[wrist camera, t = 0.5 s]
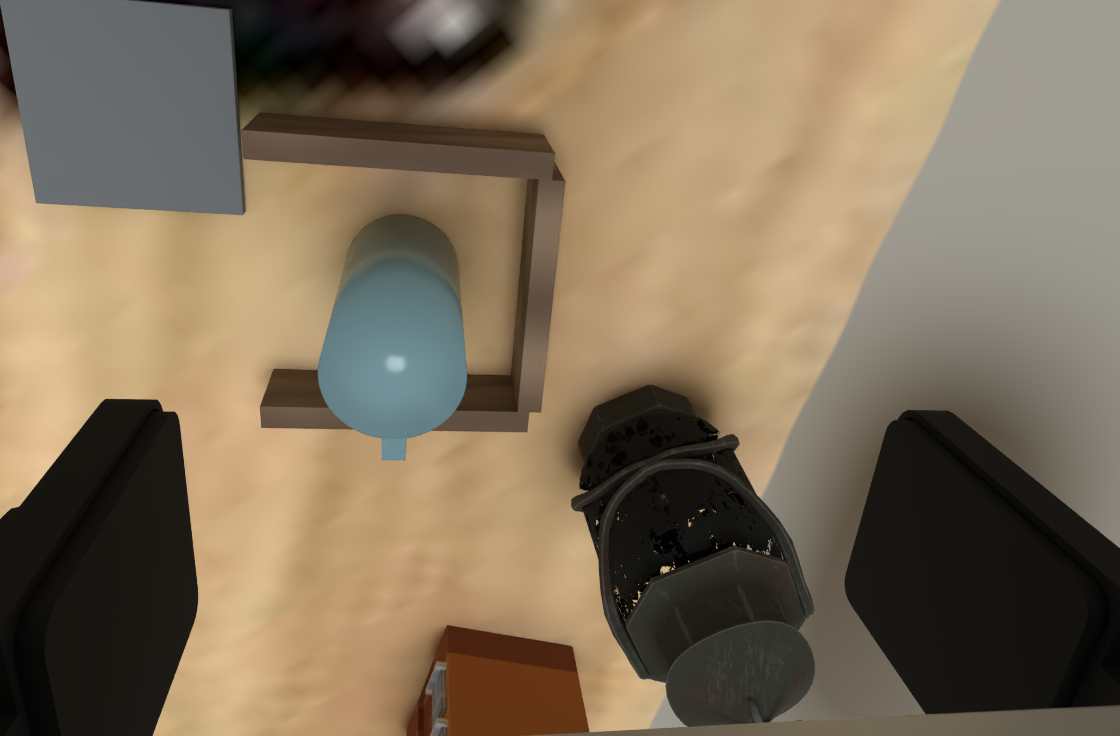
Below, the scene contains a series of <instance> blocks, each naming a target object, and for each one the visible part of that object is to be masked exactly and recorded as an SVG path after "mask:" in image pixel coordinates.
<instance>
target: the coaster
mask: <svg viewBox="0 0 1120 736" xmlns="http://www.w3.org/2000/svg"><path fill="white" fill-rule="evenodd" d="M0 5H1V10H2V16H3V21H4V27H5V33H6V38H7V44H8V49H9V55H10V60H11V66H12V71H13V77H14V83H15V88H16V94H17V99H18V105H19V110H20V116H21V121H22V127H23V133H24V138H25V144H26V149H27V155H28V160H29V166H30V171H31V177H32V183H33V188H34V194H35V199H36V203H43V204H60V205H78V206H95V207H112V208H129V209H146V210H164V211H181V212H198V213H215V214H233V215H243V214H244V213H245V197H244V182H243V167H242V152H241V137H240V122H239V107H238V92H237V77H236V62H235V47H234V32H233V17H232V9H225V8H214V7H204V6H194V5H184V4H174V3H163V2H153V1H143V0H0Z"/></svg>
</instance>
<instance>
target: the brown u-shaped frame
mask: <svg viewBox="0 0 1120 736" xmlns="http://www.w3.org/2000/svg"><path fill="white" fill-rule="evenodd" d="M242 140H243V156H244V159H250V160H265V161H279V162H294V163H308V164H323V165H337V166H352V167H366V168H381V169H395V170H410V171H424V172H439V173H453V174H468V175H483V176H497V177H512V178H526V179H528V183H527V195H526V207H525V218H524V230H523V241H522V253H521V265H520V276H519V288H518V300H517V311H516V323H515V334H514V346H513V358H512V369H511V376H493V375H467V382H466V388H465V392H464V395H463V397H462V400H461V402H460V404H459V405H458V407H457V408H456V410H455V411H454V412H453V414H452V415H451V416H450V417H449V418H448V419H447V420H446V421H445V422H444V423H442V424H441V425H439V426H438V427H436V428H435V429H433V430H431V431H481V432H527V429H528V419H529V412H541V405H542V396H543V387H544V377H545V368H546V358H547V349H548V340H549V330H550V321H551V311H552V302H553V293H554V283H555V274H556V264H557V255H558V246H559V236H560V227H561V217H562V208H563V198H564V189H565V180H564V178H563V176H562V174H561V173H560V171H559V169H558V167H557V166H556V164H555V162H554V157H555V153H554V151H553V149H552V148H551V146H550V144H549V143H548V141H547V139H546V138H545V136H544V135H538V134H525V133H512V132H499V131H486V130H474V129H461V128H448V127H435V126H422V125H410V124H397V123H384V122H371V121H358V120H346V119H333V118H320V117H307V116H294V115H282V114H269V113H259V114H258V115H257V116H256V117H255V118H254V119H253V120H252V121H251V122H250V123H249V124H248V125H246V126H245V127H244V128H243V129H242ZM260 415H261V428H303V429H353V428H351V427H349V426H348V425H346V424H345V423H344V422H342V421H341V420H340V419H339V418H338V417H337V416H336V415H335V414H334V413H333V412H332V411H331V409H330V408H329V407H328V405H327V403H326V402H325V400H324V398H323V396H322V393H321V390H320V386H319V381H318V371H317V370H281V369H274V370H273V373H272V375H271V378H270V381H269V383H268V386H267V389H266V392H265V394H264V397H263V400H262V402H261V405H260Z"/></svg>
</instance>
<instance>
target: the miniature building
mask: <svg viewBox="0 0 1120 736" xmlns="http://www.w3.org/2000/svg"><path fill="white" fill-rule="evenodd" d="M587 732H589V728H588V723H587V718H586V713H585V708H584V703H583V698H582V693H581V688H580V683H579V678H578V673H577V668H576V663H575V658H574V653H573V648H572V647H567V646H561V645H555V644H550V643H544V642H539V641H533V640H527V639H522V638H516V637H510V636H505V635H499V634H494V633H488V632H482V631H477V630H471V629H466V628H460V627H454V626H449V625H447V627H446V630H445V632H444V635H443V637H442V640H441V643H440V645H439V648H438V650H437V653H436V656H435V658H434V661H433V663H432V666H431V669H430V671H429V674H428V677H427V679H426V682H425V684H424V687H423V690H422V692H421V695H420V697H419V700H418V703H417V705H416V708H415V710H414V713H413V716H412V718H411V721H410V724H409V726H408V729H407V736H531V735H549V734H568V733H587Z"/></svg>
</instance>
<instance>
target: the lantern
mask: <svg viewBox="0 0 1120 736" xmlns="http://www.w3.org/2000/svg"><path fill="white" fill-rule="evenodd" d="M704 427H707V428H704ZM718 432H719V431H718V430H717V429H716V428H715V427H713V426H712V425H711V424H709V423H708V422H707V421H705V420H703V419H701V418H698V417H696V415H695V412H694V410H693V407H692V406H691V404H690V402H689V400H688V399H687V398H686V397H683V396H680V395H677V394H674V393H672V392H669V391H666V390H663V389H661V388H658V387H655V386H652V385H648V386H646V387H643V388H641V389H638V390H636V391H634V392H631V393H629V394H626V395H624V396H621V397H619V398H616V399H614V400H612V401H609V402H607V403H604V404H602V405H599V406H597V407H595V408H594V410H593V412H592V414H591V416H590V418H589V420H588V422H587V425H586V427H585V429H584V431H583V433H582V435H581V437H580V439H579V441H578V445H579V448H580V452H581V454H582V457H583V459H584V461H585V465H584V466H583V468H582V471H581V477H580V483H579V487H580V489H581V488H582V489H583V490H586V491H587V490H588V492H585V493H583V494H580V495H578V496H576V497H574V498H572V499H571V506H572V508H573V510H574V511H580V512H584V515H585V518H586V521H587V525H588V528H589V531H590V534H591V537H592V540H593V542H594V547H595V550H596V553H597V556H598V559H599V577H600V590H601V597H602V603H603V609H604V615H605V617H606V619H607V622H608V624H609V627H610V629H611V631H612V634H613V636H614V637H615V639H616V640H617V642H618V644H619V645H620V647H621V648H622V650H623V651H624V653H625V655H626V656H627V658H628V660H629V662H630V664H631V665H632V667H633V668H634V670H635V671H636V673H637V674H638V676H639V677H640V678H641V679H652V680H655V681H660V682H664V683H666V693H667V698H668V701H669V703H670V706H671V708H672V710H673V711H674V713H675V715H676V716H677V717H678V718H679V719H680V721H681V722H683V724H685V725H686V726H688V727H695V726H713V725H731V724H749V723H768V722H771V720H772V719H774V718H775V717H777V716H778V715H780V714H782V713H784V712H786V711H787V710H789V709H790V708H792V707H793V706H794V705H796V704H797V703H798V702H799V701H800V700H801V699H802V698H803V697H804V696H805V695H806V694H807V692H808V691H809V689H810V687H811V685H812V683H813V679H814V675H815V661H814V657H813V653H812V650H811V648H810V646H809V644H808V642H807V640H806V639H805V638H804V636H803V635H802V634H801V633H800V632H799V631H798V630H799V629H800V627H801V626H802V625H803V623H804V621H805V618H808V617H809V615H811V614H813V613H814V605H813V601H812V598H811V595H810V592H809V590H808V588H807V586H806V583H805V580H804V577H803V573H802V569H801V566H800V562H799V559H798V556H797V553H796V551H795V548H794V545H793V542H792V540H791V538H790V537H789V535H788V534H787V532H786V530H785V528H784V527H783V525H782V524H781V522H780V521H779V519H778V518H777V517H776V516H775V515H774V513H773V512H772V511H771V510H770V509H769V508H768V506H767V505H766V504H765V503H764V502H763V501H762V500H761V499H760V498H759V497H758V496H757V495H756V493H755V491H754V489H753V487H752V485H751V483H750V481H749V480H748V478H747V476H746V474H745V472H744V470H743V468H742V467H741V465H740V463H739V461H738V459H737V457H736V455H735V453H734V450H735V449H736V448H737V447H738V445H739V444H740V443H739V440H738V438H737V437H736V436H735V435H734V434H730V435H726V436H724V437H722V438H720V439H717V438H718V435H713V434H717V433H718ZM719 433H720V432H719ZM719 433H718V434H719ZM709 434H711V435H709ZM713 452H715V453H713ZM712 454H713V455H714V459H713V456H712ZM582 472H583V473H582ZM582 482H583V484H582ZM590 484H591V485H590ZM731 492H732V493H731ZM728 493H729V494H728ZM600 501H601V502H600ZM601 504H602V505H603V506H602V505H601ZM702 509H705V511H704V510H703V512H701V513H700V511H699V510H702ZM713 510H714V512H713ZM715 511H716V512H715ZM618 512H619V514H618ZM625 514H626V515H627V516H626V515H625ZM698 515H699V517H698ZM715 515H716V516H715ZM618 516H619V518H618ZM635 517H636V518H635ZM693 517H695V518H694V519H692V518H693ZM617 518H618V519H619V521H618V520H617ZM688 519H690V520H689V521H688ZM596 520H598V522H599V523H598V524H597V525H596ZM622 520H623V521H622ZM689 522H691V523H690V524H691V526H690V527H688V523H689ZM588 523H589V524H588ZM677 524H678V525H677ZM692 524H693V525H692ZM598 525H599V526H598ZM710 531H711V532H710ZM684 534H685V535H684ZM711 535H713V537H712V536H711ZM598 537H599V539H598ZM710 537H711V539H710ZM714 537H715V538H714ZM653 538H654V540H653ZM770 538H771V541H770V542H772V544H771V543H770V545H771V547H770V548H771V550H770V551H769V549H768V548H769V547H767V546H768V543H769V542H768V540H770ZM773 538H774V539H773ZM677 541H678V542H677ZM749 541H750V542H749ZM774 541H775V542H774ZM596 542H597V543H596ZM733 542H734V543H736V546H735V545H734V546H733ZM716 543H717V544H718V545H717V544H716ZM740 544H741V545H740ZM747 544H748V545H749V546H750V548H752V550H748V549H747ZM597 545H598V547H597ZM752 545H753V546H752ZM716 546H717V547H718V548H717V549H716ZM729 547H730V548H729ZM757 549H758V551H759V552H756V550H757ZM767 549H768V551H769V553H770V554H771V555H766V553H765V554H764V552H763V553H762V552H761V551H763V550H764V551H765V552H766V550H767ZM780 550H781V551H780ZM654 551H655V552H654ZM657 552H658V554H657ZM760 552H761V553H760ZM655 553H656V554H655ZM781 553H782V555H781ZM782 556H783V559H782ZM688 560H689V562H688ZM673 562H674V563H675V564H674V563H673ZM621 565H622V567H621ZM673 565H675V568H674V566H673ZM662 566H670V567H671V569H672V568H674V570H671V569H669V570H670V571H669V572H666V573H664V574H663V572H661V571H660V569H661V567H662ZM662 571H663V570H662ZM615 572H616V573H615ZM660 572H661V573H662V574H661V573H660ZM618 573H619V574H618ZM620 574H621V575H620ZM624 574H625V577H626V578H625V577H624ZM646 582H649V583H648V584H646V585H645V583H646ZM638 584H639V585H638ZM617 587H618V588H617ZM616 588H617V589H618V590H619V591H618V592H619V593H617V592H616V591H615V590H616ZM638 590H639V592H640V595H641V596H640V598H639V600H638ZM614 591H615V593H617V594H618V595H617V594H614ZM641 592H642V593H641ZM631 594H632V595H631ZM617 596H618V597H617ZM619 596H620V597H619ZM622 596H623V597H622ZM633 596H634V597H633ZM615 598H616V599H615ZM620 598H622V599H620ZM619 599H620V601H619ZM616 600H618V602H616ZM626 600H627V601H626ZM632 600H638V601H637V603H635V602H633V601H632ZM620 602H621V603H620ZM633 603H634V604H635V606H633ZM621 605H622V606H621ZM625 605H626V606H627V607H626V606H625ZM619 608H620V609H619ZM626 609H628V610H626ZM632 609H633V610H632ZM620 610H621V612H620ZM631 610H632V611H631ZM627 611H628V612H627ZM624 612H625V613H624ZM623 613H624V614H623ZM624 615H625V616H624ZM623 617H624V618H623ZM625 617H626V618H625ZM624 619H625V620H624ZM625 621H626V622H625ZM629 634H630V635H629ZM799 721H803V720H799Z"/></svg>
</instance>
